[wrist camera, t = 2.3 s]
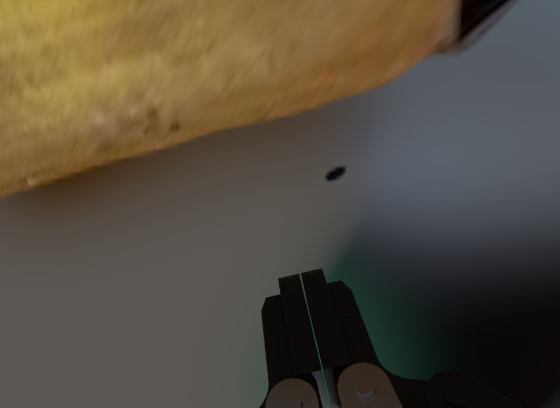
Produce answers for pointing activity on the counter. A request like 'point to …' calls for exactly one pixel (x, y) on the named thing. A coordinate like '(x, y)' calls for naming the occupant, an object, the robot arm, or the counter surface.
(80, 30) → the counter surface
